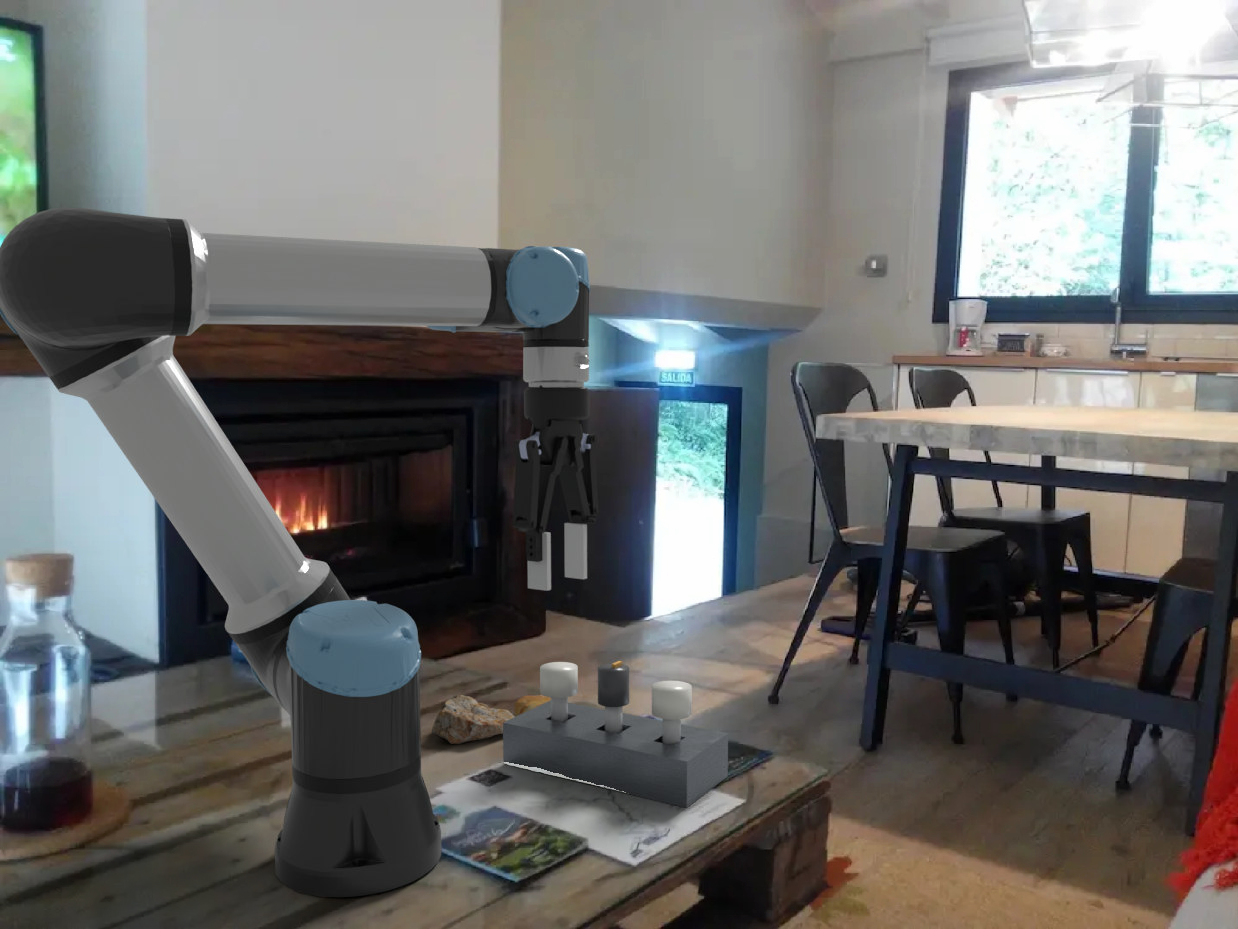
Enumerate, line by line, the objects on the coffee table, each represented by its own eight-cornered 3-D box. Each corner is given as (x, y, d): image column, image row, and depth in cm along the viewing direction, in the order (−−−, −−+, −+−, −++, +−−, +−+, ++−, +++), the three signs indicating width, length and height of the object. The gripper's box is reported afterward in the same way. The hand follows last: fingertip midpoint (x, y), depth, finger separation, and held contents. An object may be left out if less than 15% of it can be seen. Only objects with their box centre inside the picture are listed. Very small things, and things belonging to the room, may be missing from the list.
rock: (430, 750, 128) (510, 735, 128) (422, 701, 129) (502, 686, 129) (446, 743, 137) (521, 729, 136) (439, 697, 138) (514, 683, 137)
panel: (727, 776, 119) (728, 733, 118) (686, 808, 110) (687, 761, 110) (552, 738, 131) (552, 699, 131) (503, 764, 122) (502, 722, 122)
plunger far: (564, 738, 121) (563, 674, 120) (533, 731, 123) (532, 669, 123) (585, 727, 125) (584, 665, 124) (554, 721, 127) (554, 660, 126)
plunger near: (679, 763, 113) (680, 694, 113) (644, 755, 116) (644, 688, 115) (698, 750, 117) (698, 684, 116) (663, 743, 119) (663, 678, 119)
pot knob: (619, 748, 118) (618, 670, 117) (591, 742, 120) (591, 666, 119) (635, 738, 121) (635, 662, 120) (608, 733, 123) (608, 658, 122)
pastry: (503, 714, 141) (502, 686, 141) (550, 708, 144) (550, 681, 144) (526, 736, 133) (526, 707, 132) (576, 729, 135) (576, 700, 135)
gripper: (532, 386, 110) (534, 602, 112) (628, 384, 127) (628, 572, 129) (476, 386, 114) (479, 595, 116) (576, 384, 131) (577, 566, 133)
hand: (558, 582), depth 123 cm, fingers open, 7 cm apart
